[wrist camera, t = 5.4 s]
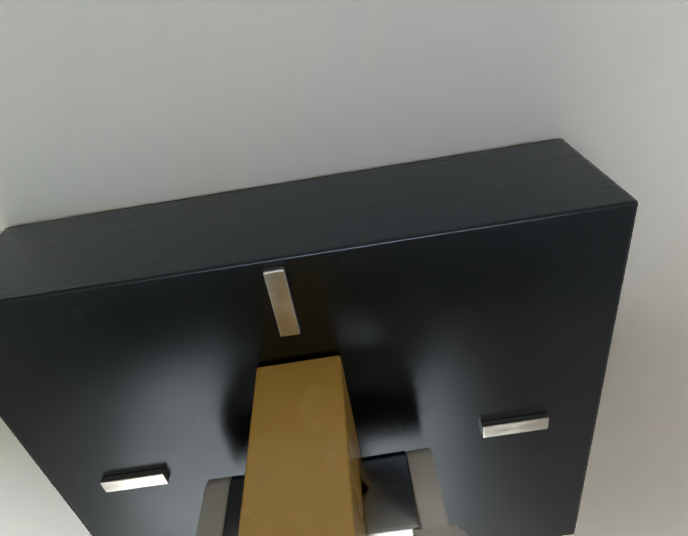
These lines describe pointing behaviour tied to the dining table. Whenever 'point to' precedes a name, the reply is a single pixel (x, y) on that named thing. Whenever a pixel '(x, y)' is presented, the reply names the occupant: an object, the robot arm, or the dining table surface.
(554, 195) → the block
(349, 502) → the tap handle
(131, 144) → the dining table surface
